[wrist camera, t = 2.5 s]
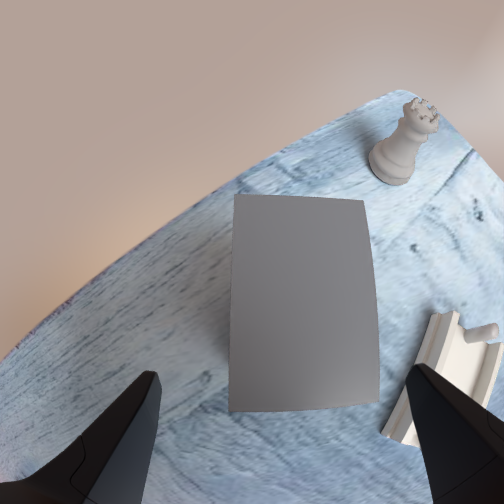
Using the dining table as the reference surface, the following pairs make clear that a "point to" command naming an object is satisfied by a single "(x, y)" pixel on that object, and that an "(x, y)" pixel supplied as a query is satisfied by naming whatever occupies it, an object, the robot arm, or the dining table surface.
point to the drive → (301, 305)
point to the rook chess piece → (404, 143)
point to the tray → (451, 367)
